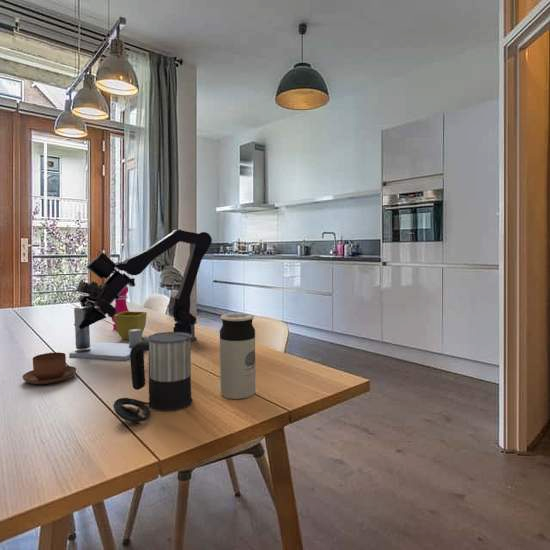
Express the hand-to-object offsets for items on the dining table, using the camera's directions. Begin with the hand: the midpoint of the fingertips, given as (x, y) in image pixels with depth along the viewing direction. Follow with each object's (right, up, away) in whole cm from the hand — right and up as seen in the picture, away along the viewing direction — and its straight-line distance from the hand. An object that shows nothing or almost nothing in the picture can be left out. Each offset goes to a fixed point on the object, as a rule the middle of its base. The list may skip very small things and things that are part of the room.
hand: (77, 327), depth 126 cm
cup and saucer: (+3, -11, -21) cm, 24 cm away
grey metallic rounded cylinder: (+1, -7, +1) cm, 7 cm away
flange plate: (+9, -9, +4) cm, 13 cm away
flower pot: (+8, -7, +25) cm, 27 cm away
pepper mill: (-2, -6, +41) cm, 41 cm away
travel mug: (+52, -11, -32) cm, 62 cm away
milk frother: (+36, -12, -41) cm, 56 cm away
